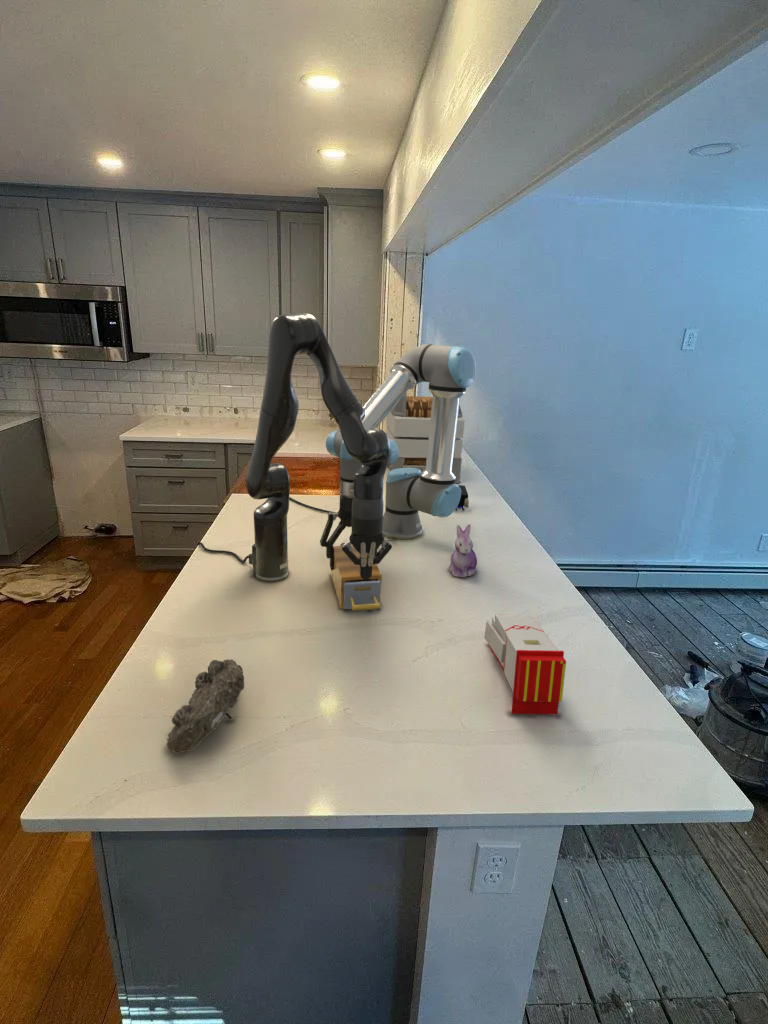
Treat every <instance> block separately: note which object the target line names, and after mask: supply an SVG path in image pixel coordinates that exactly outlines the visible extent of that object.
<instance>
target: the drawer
mask: <svg viewBox="0 0 768 1024" xmlns="http://www.w3.org/2000/svg"><path fill="white" fill-rule="evenodd" d="M380 592H381V593H382V581H381V582H380V581H375V579H369V580H349V581H345V583H344V609H343V610H351V611H365V610H379V609H380V608H381V602H380Z"/></svg>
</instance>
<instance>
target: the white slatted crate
mask: <svg viewBox="0 0 768 1024" xmlns="http://www.w3.org/2000/svg"><path fill="white" fill-rule="evenodd" d="M407 394H408V393H407V392H406V393H405V394H404V396H403V397H402V398H401V399H400V400H399V402H398V403H397V404H396V405H395V407H394V408H393V409H392V410H391V411H390V413H389V414H388V415H387V416H386V418H385V423H386V428H385V433H386V434H387V436H388V438H389V439H391V440H393V441H394V442H395V443H396V444H397V446H398V450H399V455H398V458H397V460H396V461H395V462H394V463H393V464H390V465H388V466H387V467H388V468H389V471H391V470H394V469H398V468H405V466H406V467H407V466H411V467H412V466H413V467H415V466H416V467H417V466H418V467H426V459H427V449H428V439H429V429H430V419H431V409H432V399H433V396H415V395H414V396H413V395H412V396H411V395H407ZM464 429H465V419H464V418H463V411H462V408H461V405H460V404H459V412H458V421H457V430H456V438H455V447H454V456H453V464H452V473H453V474H454V475H455V477H456V479H455V484H459V483H461V472H462V461H463V460H462V453H463V442H464V441H463V440H462V439H463V438H464V431H465V430H464ZM387 467H386V468H387Z"/></svg>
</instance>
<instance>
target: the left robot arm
mask: <svg viewBox="0 0 768 1024" xmlns="http://www.w3.org/2000/svg"><path fill="white" fill-rule="evenodd" d="M269 329H270V330H269V337H268V348H267V349H268V352H267V353H268V354H267V366H266V374H265V382H264V390H263V395H262V399H261V405H260V409H259V416H258V424H257V429H256V435H255V441H254V445H253V449H252V454H251V456H250V459H249V463H248V468H247V471H246V476H245V484H246V485H245V487H246V491H247V494H248V495H249V497H250V498H251V499H254V500H264V499H266V500H265V501H264V502H263V503H261V504H260V505H259V506H257V507H256V508H254V510H253V530H254V531H253V532H254V544H252V545H251V553H249V554H248V555H246V556H245V557H244V558H243V559H241V558H240V557H239V555H238V554H237V553H235V552H233V551H231V550H221V549H209V548H207V547H205V545H204V544H203V543H202V541H200V542H199V541H198V543H197V546H200V547H201V549H203V550H204V551H205V552H209V553H218V554H229V555H232V556H234V557H235V558H236V559H237V561H239V562H240V563H242V564H244V563H246V562H247V560H248V564H249V565H251V566H252V576H253V577H256V578H257V579H258V580H260V581H264V582H277V581H281V580H284V579H286V578H287V577H288V576H289V551H288V549H289V547H288V513H289V510H290V499H289V497H290V490H291V486H290V485H291V483H290V482H291V481H290V479H291V478H290V474H289V471H288V468H287V467H286V466H285V465H284V464H283V463H281V462H272V461H273V460H274V457H275V456H276V455H277V453H278V452H279V451H280V449H281V448H282V447H283V446H284V445H285V443H286V442H287V441H288V440H289V438H290V437H291V435H292V434H293V432H294V430H295V427H296V423H297V420H298V419H297V418H298V413H299V409H300V408H299V407H300V405H299V399H298V395H297V392H296V389H295V387H294V384H293V383H292V372H293V366H294V361H295V358H296V356H298V355H305V354H306V355H307V357H308V358H309V359H310V360H311V362H312V363H313V364H314V366H315V368H316V370H317V374H318V377H319V387H320V393H321V397H322V401H323V403H324V405H325V407H326V409H327V410H328V412H329V413H330V415H331V416H332V418H333V419H334V421H335V422H336V424H337V425H338V429H339V431H340V432H341V435H342V438H343V441H344V444H345V447H346V449H347V451H348V453H349V455H350V456H351V457H352V458H353V459H354V460H355V461H357V462H359V463H362V466H361V468H360V469H359V470H358V471H357V472H356V473H355V475H354V482H353V501H352V509H351V512H352V527H351V531H350V532H351V533H350V535H349V537H348V540H347V541H346V542H342V543H341V544H340V546H341V547H342V550H343V551H344V553H345V554H346V555H347V556H348V557H349V558H350V560H351V561H352V562H353V563H354V564H355V565H360V576H361V578H363V580H369V577H371V576H372V566H373V565H374V564H377V565H379V564H380V563H381V562H382V561H383V560H384V558H385V557H386V556H387V554H388V553H389V552H390V551H391V550H392V548H393V545H392V543H391V542H390V541H389V540H387V539H385V537H384V536H383V533H382V532H383V515H384V477H385V474H386V471H387V463H388V459H389V455H390V441H389V438H388V436H387V434H386V431H384V430H382V429H381V428H376V429H371V430H367V431H366V430H365V429H364V426H363V424H362V421H363V420H364V418H365V411H364V409H363V405H362V404H361V402H360V400H359V399H358V397H357V396H356V394H355V393H354V391H353V389H352V388H351V387H350V385H349V383H348V381H347V380H346V378H345V376H344V375H343V372H342V370H341V369H340V366H339V363H338V362H337V359H336V357H335V354H334V352H333V350H332V347H331V346H330V343H329V341H328V338H327V335H326V334H325V332H324V330H323V328H322V326H321V324H320V322H319V321H318V319H317V318H316V317H315V316H314V315H313V314H311V313H307V312H295V313H294V312H292V313H285V314H279V315H277V316H276V317H275V318H274V319H273V321H272V323H271V326H270V328H269ZM351 545H353V546H354V548H355V549H356V550H357V551H358V552H359V558H357V557H356V556H355V555H354V553H353V552H352V551H351V550H352V547H351ZM379 548H380V549H379ZM378 549H379V550H378ZM376 550H377V553H376V554H375V551H376ZM366 553H367V558H366ZM374 554H375V556H374Z"/></svg>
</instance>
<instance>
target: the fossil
mask: <svg viewBox="0 0 768 1024" xmlns="http://www.w3.org/2000/svg"><path fill="white" fill-rule="evenodd" d="M243 670H244V669H243V667H242V665H240V664H237V662H236V661H235V660H234V659H232V658H231V659H227V658H226V659H224V660H223V661H222V660H217V659H212V660H211V661H210V663H209V665H208V666H207V671H201V672H199V673H198V674H197V675H196V676H195V680H194V684H195V685H194V687H195V689H194V690H193V693H192V694H191V697H190V698H189V700H188V704H184V705H182V706H181V707H180V709H177V710H176V711H175V713H174V715H173V716H172V718H171V723H172V724H173V727H172V730H171V731H170V732H168V734H167V738H166V741H167V742H166V745H167V749H168V750H169V751H173V752H174V753H176V754H178V753H182V752H188V751H189V752H192V751H193V750H195V748H196V747H197V746H199V744H200V743H201V742H203V741H204V740H205V739H206V738H207V737H208V736H209V735H210V734H211V733H212V732H214V730H215V729H217V727H218V726H219V724H220V722H221V721H222V720H223V719H224V718H225V716H226V717H227V719H229V720H233V717H232V715H230V714H229V710H230V709H231V708H234V706H235V704H236V703H237V702H238V699H239V697H240V695H241V693H242V691H243V690H245V689H244V688H245V675H244V671H243Z"/></svg>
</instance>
